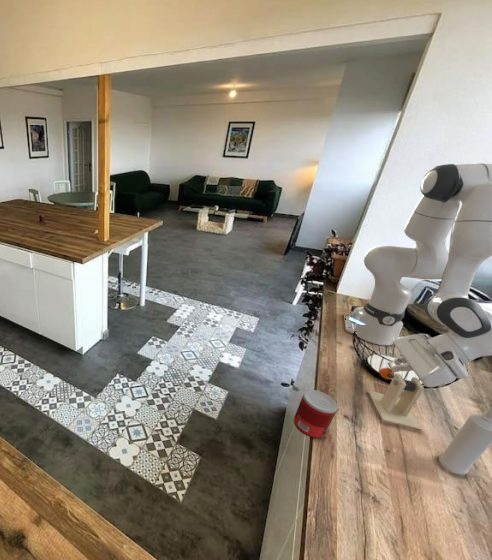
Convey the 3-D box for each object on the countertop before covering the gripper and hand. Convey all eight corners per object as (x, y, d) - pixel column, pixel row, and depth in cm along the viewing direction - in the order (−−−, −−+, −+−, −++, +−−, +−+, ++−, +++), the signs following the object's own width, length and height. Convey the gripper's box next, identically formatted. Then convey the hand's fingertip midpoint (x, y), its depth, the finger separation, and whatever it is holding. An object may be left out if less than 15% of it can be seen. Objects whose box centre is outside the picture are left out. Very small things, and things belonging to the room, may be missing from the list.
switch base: (366, 393, 102) (382, 363, 96) (400, 401, 99) (419, 371, 93) (380, 422, 92) (399, 390, 86) (419, 432, 89) (441, 400, 83)
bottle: (471, 479, 77) (533, 407, 66) (446, 475, 78) (504, 403, 67) (454, 459, 81) (510, 389, 70) (431, 456, 82) (483, 386, 71)
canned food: (327, 443, 86) (341, 415, 81) (295, 434, 88) (306, 406, 83) (320, 421, 92) (333, 394, 87) (290, 413, 95) (301, 386, 90)
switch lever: (376, 375, 103) (378, 365, 103) (389, 378, 102) (391, 367, 102) (400, 391, 90) (403, 379, 90) (416, 394, 89) (419, 382, 88)
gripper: (421, 324, 101) (372, 342, 108) (458, 364, 84) (398, 381, 91) (431, 339, 101) (383, 355, 109) (471, 381, 84) (410, 397, 92)
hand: (390, 367), depth 100 cm, fingers closed
